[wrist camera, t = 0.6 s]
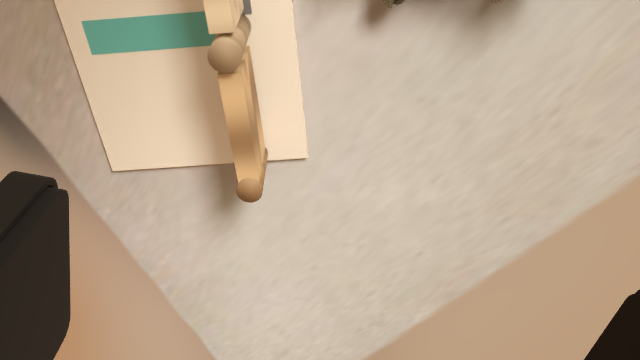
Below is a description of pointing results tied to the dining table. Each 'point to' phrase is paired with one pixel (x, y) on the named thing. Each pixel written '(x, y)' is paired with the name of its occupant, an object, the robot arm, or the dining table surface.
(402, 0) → the figurine
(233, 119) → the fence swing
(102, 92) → the card
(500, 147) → the dining table surface
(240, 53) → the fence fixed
